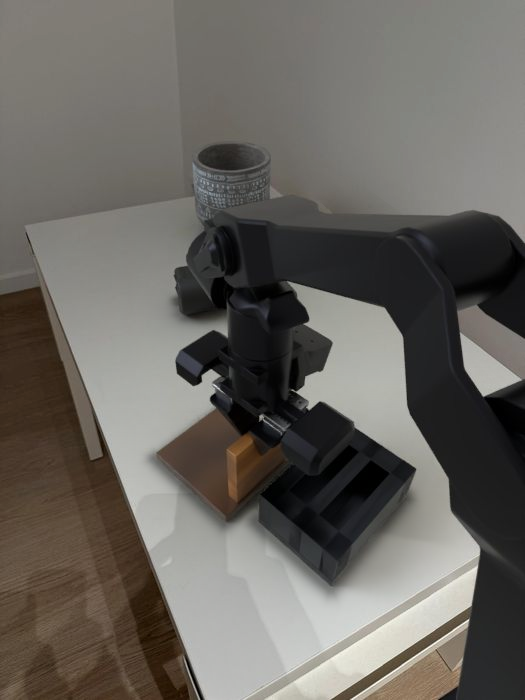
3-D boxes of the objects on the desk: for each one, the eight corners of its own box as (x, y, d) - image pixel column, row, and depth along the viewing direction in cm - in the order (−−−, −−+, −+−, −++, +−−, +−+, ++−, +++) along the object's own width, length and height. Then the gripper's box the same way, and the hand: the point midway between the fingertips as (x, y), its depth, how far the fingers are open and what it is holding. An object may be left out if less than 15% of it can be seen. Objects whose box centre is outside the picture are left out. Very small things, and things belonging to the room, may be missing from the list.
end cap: (184, 326, 80) (180, 290, 76) (174, 299, 85) (170, 265, 80) (245, 313, 83) (245, 278, 78) (232, 288, 88) (231, 254, 83)
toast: (285, 459, 61) (289, 412, 55) (237, 503, 56) (235, 457, 51) (276, 452, 61) (279, 405, 56) (228, 495, 57) (226, 449, 51)
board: (297, 456, 62) (298, 450, 62) (226, 522, 56) (225, 516, 55) (228, 404, 68) (228, 398, 68) (157, 458, 62) (155, 452, 61)
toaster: (410, 491, 59) (421, 463, 56) (331, 586, 51) (337, 561, 47) (341, 442, 64) (347, 413, 61) (258, 522, 56) (259, 494, 52)
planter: (208, 209, 108) (204, 137, 98) (274, 216, 106) (277, 144, 96) (187, 243, 98) (180, 167, 88) (261, 253, 96) (262, 176, 86)
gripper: (403, 345, 44) (373, 453, 55) (248, 260, 54) (248, 367, 64) (323, 417, 38) (306, 523, 49) (164, 307, 48) (179, 417, 58)
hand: (258, 448), depth 55 cm, fingers closed on toast
